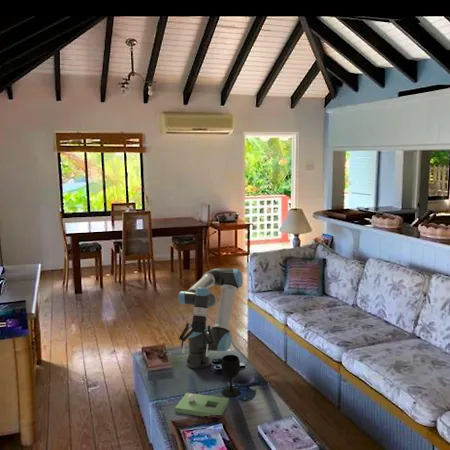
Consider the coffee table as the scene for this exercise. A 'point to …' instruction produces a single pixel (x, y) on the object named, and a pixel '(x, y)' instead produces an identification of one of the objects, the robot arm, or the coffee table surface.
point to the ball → (191, 397)
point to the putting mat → (202, 405)
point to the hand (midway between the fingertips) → (195, 355)
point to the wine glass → (230, 373)
